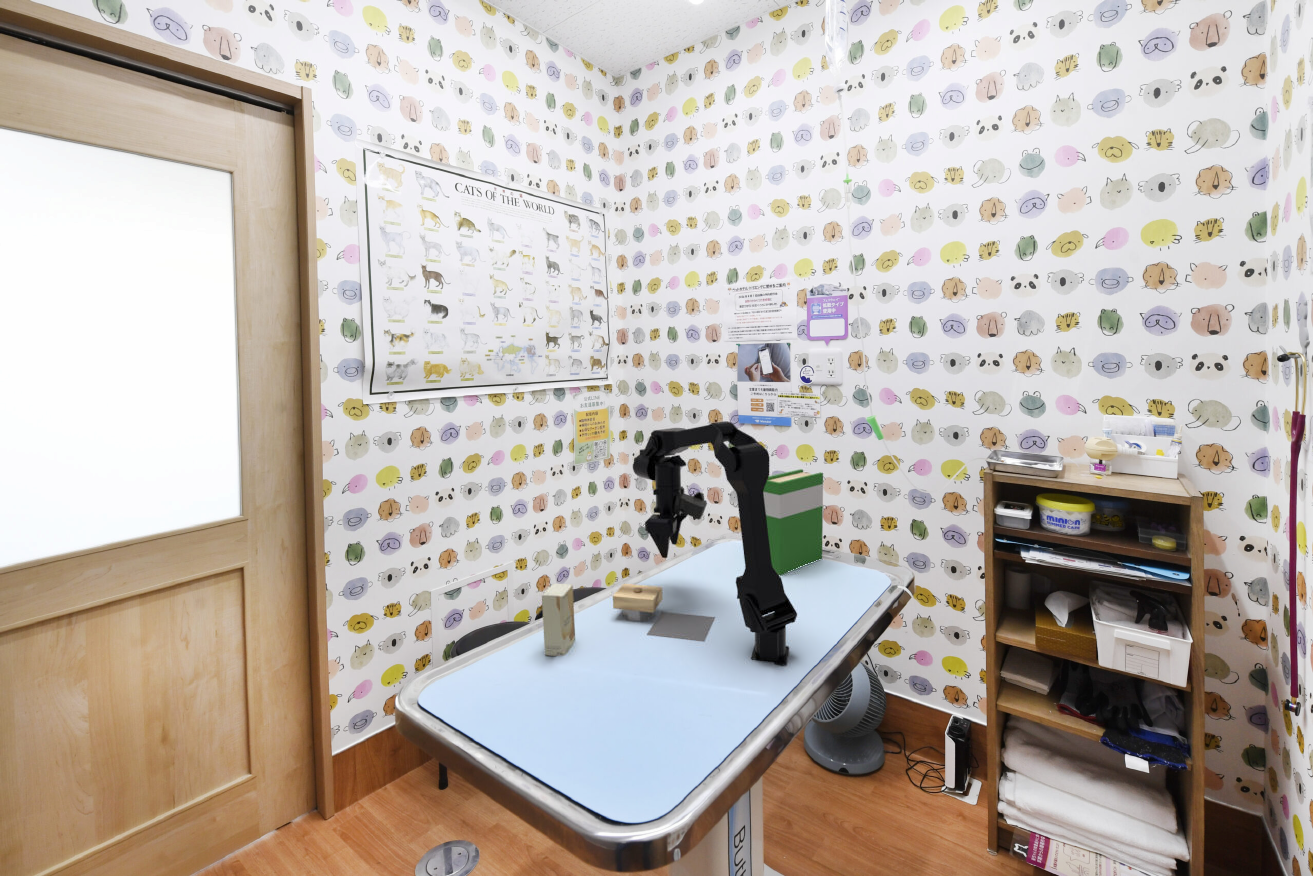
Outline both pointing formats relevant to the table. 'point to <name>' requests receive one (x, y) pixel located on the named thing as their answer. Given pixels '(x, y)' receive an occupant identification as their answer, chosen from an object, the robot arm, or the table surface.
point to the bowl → (637, 615)
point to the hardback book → (794, 519)
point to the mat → (682, 626)
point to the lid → (637, 597)
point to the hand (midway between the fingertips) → (669, 550)
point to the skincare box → (558, 619)
